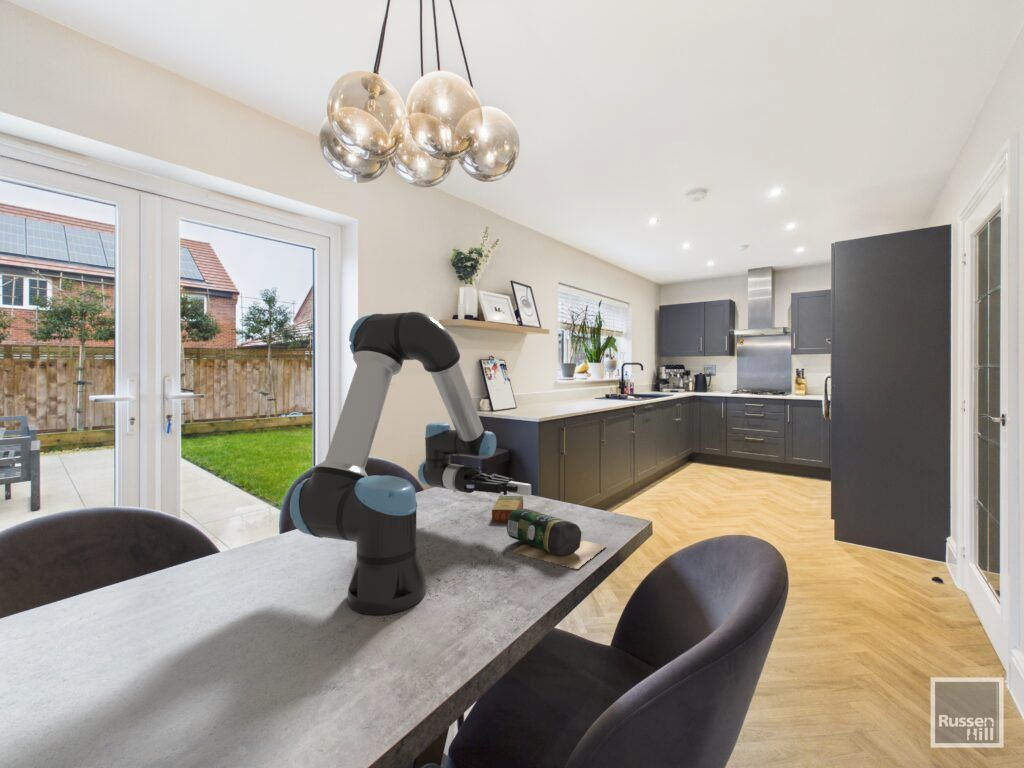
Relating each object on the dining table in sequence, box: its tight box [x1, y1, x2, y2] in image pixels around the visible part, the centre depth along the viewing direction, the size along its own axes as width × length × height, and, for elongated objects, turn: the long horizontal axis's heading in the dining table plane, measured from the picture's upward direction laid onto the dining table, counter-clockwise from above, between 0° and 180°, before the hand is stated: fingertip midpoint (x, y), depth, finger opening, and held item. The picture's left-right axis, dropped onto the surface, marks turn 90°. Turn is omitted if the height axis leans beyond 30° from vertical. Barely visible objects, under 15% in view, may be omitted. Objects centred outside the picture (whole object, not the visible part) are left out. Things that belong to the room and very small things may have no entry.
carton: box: [491, 495, 524, 523], centre depth 142 cm, size 8×16×4 cm, turn 173°
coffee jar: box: [506, 508, 582, 556], centre depth 113 cm, size 10×8×19 cm
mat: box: [512, 539, 607, 569], centre depth 113 cm, size 18×16×1 cm
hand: (529, 489), depth 117 cm, fingers closed
